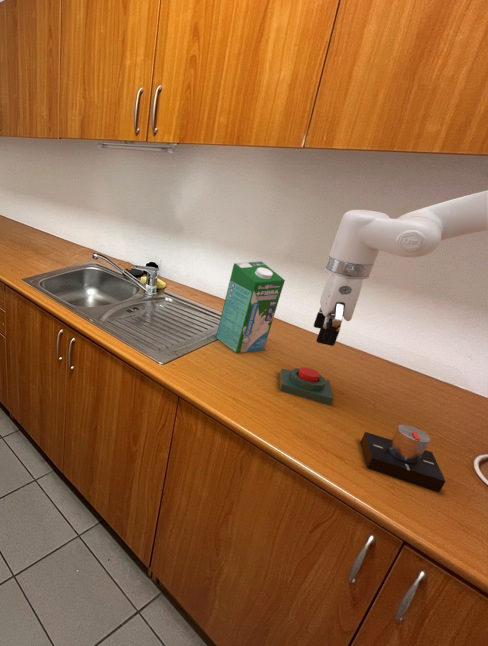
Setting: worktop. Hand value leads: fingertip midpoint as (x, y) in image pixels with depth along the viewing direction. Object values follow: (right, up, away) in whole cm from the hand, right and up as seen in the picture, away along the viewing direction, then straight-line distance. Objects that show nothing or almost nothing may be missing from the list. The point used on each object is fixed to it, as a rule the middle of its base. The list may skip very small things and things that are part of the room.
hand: (323, 335), depth 94 cm
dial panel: (+1, -24, -16) cm, 28 cm away
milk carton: (-3, -6, +26) cm, 27 cm away
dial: (+1, -21, -17) cm, 27 cm away
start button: (0, -11, +5) cm, 12 cm away
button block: (0, -15, +6) cm, 16 cm away
